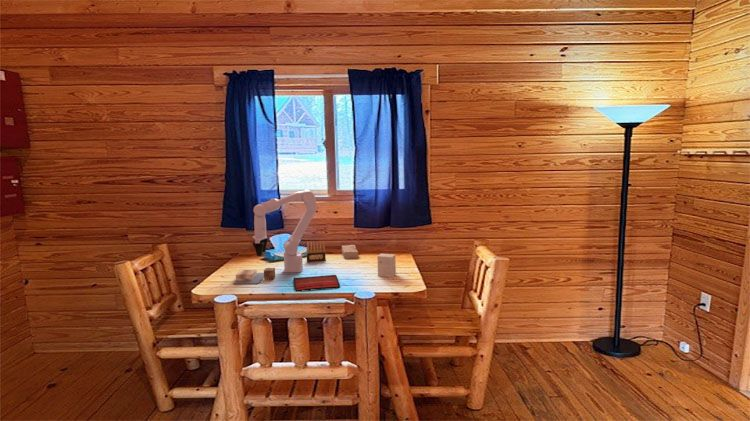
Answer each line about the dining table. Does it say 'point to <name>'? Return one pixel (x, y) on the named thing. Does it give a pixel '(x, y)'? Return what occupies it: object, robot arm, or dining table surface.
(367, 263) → the dining table surface
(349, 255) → the brick
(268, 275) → the walnut block
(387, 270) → the small box
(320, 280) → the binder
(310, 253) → the ammunition clip
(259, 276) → the board
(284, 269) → the robot arm
